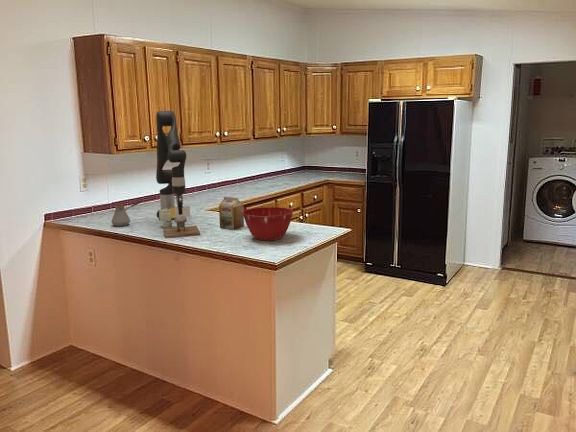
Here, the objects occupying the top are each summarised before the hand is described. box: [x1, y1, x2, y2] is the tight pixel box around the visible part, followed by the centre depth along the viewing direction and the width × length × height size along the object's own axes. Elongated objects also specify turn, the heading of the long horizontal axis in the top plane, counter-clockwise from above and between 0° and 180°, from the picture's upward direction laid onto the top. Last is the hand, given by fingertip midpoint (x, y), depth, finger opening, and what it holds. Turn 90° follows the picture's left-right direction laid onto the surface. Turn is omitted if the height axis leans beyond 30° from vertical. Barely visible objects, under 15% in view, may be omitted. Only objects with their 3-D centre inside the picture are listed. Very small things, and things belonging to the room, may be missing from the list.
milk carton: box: [218, 196, 245, 231], centre depth 309 cm, size 11×11×19 cm
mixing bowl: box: [242, 206, 294, 242], centre depth 284 cm, size 28×28×16 cm
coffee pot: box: [111, 199, 145, 228], centre depth 322 cm, size 21×12×15 cm, turn 120°
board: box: [162, 222, 201, 239], centre depth 298 cm, size 20×20×6 cm
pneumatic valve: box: [156, 208, 175, 228], centre depth 314 cm, size 6×12×12 cm, turn 79°
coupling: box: [170, 205, 191, 224], centre depth 297 cm, size 7×11×9 cm, turn 106°
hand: (180, 213), depth 297 cm, fingers closed on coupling, 3 cm apart
